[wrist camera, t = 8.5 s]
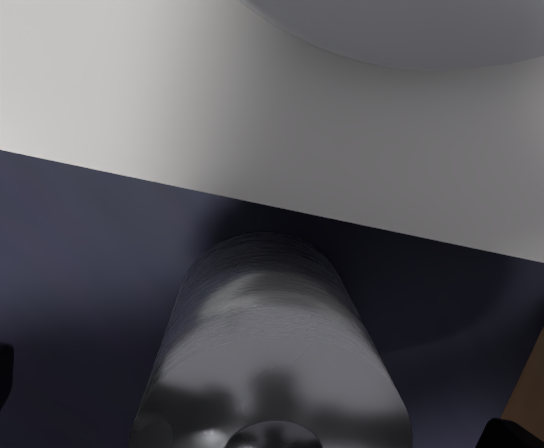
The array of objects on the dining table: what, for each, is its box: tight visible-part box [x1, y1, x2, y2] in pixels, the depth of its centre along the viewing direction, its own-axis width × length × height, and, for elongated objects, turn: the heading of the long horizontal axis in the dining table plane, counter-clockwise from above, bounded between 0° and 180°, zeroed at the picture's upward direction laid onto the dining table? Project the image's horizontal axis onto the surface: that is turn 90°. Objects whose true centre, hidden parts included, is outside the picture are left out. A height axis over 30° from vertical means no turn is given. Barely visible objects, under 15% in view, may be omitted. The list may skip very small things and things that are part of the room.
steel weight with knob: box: [128, 232, 412, 448], centre depth 8 cm, size 4×4×5 cm
